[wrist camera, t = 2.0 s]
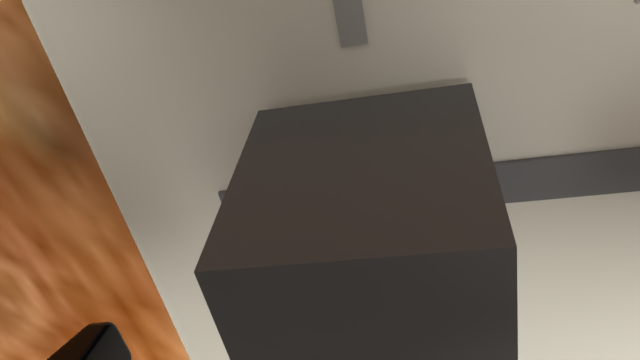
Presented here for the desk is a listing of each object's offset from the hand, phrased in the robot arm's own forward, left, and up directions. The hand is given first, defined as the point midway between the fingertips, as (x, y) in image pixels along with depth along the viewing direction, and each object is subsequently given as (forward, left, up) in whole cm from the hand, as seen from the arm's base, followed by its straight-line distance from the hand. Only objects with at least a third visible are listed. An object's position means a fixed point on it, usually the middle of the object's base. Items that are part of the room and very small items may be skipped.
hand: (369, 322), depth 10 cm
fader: (0, 0, -3) cm, 3 cm away
